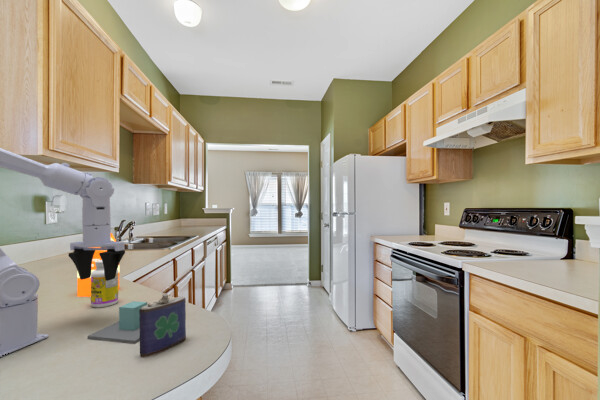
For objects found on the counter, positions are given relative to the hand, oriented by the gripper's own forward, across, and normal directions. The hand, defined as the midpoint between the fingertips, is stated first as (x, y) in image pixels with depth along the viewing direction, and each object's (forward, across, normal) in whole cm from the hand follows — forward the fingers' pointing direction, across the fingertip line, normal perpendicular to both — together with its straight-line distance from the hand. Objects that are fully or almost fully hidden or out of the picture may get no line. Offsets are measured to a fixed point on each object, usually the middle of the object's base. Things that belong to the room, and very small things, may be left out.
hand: (97, 279), depth 70 cm
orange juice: (+11, +21, -19) cm, 31 cm away
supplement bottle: (+11, +9, -10) cm, 18 cm away
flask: (+11, -26, +9) cm, 29 cm away
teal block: (+10, -13, +2) cm, 16 cm away
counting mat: (+10, -13, +3) cm, 17 cm away
